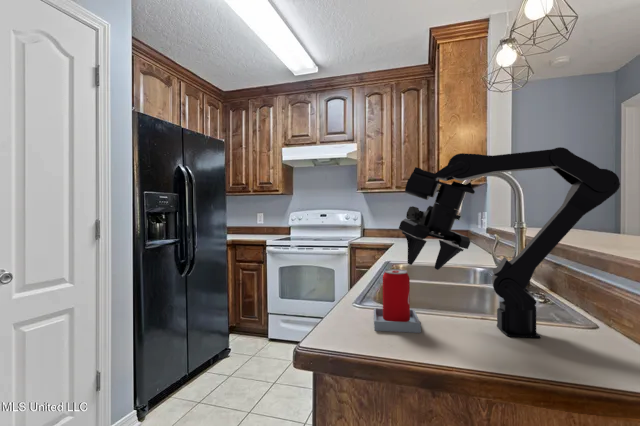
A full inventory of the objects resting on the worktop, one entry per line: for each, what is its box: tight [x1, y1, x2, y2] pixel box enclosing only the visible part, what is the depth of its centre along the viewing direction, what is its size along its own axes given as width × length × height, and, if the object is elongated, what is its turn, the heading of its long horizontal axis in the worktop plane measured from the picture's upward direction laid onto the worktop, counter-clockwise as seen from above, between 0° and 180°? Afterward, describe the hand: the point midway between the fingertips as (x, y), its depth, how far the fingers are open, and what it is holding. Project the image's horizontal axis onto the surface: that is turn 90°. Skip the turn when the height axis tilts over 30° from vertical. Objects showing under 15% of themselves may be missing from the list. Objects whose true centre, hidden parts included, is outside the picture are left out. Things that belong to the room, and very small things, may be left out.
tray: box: [373, 307, 422, 334], centre depth 77 cm, size 10×10×2 cm
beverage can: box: [382, 268, 411, 322], centre depth 77 cm, size 6×6×12 cm
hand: (423, 266), depth 80 cm, fingers open, 9 cm apart
